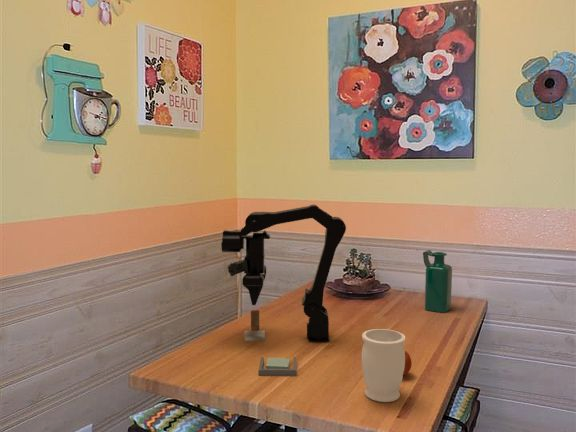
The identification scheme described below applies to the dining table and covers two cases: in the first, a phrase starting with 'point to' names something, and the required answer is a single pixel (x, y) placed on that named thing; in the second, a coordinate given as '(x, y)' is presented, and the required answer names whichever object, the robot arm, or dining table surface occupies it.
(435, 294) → the pitcher
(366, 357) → the jar
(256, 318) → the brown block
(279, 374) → the frame
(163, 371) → the dining table surface
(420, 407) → the dining table surface
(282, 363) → the tile
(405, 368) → the fruit
